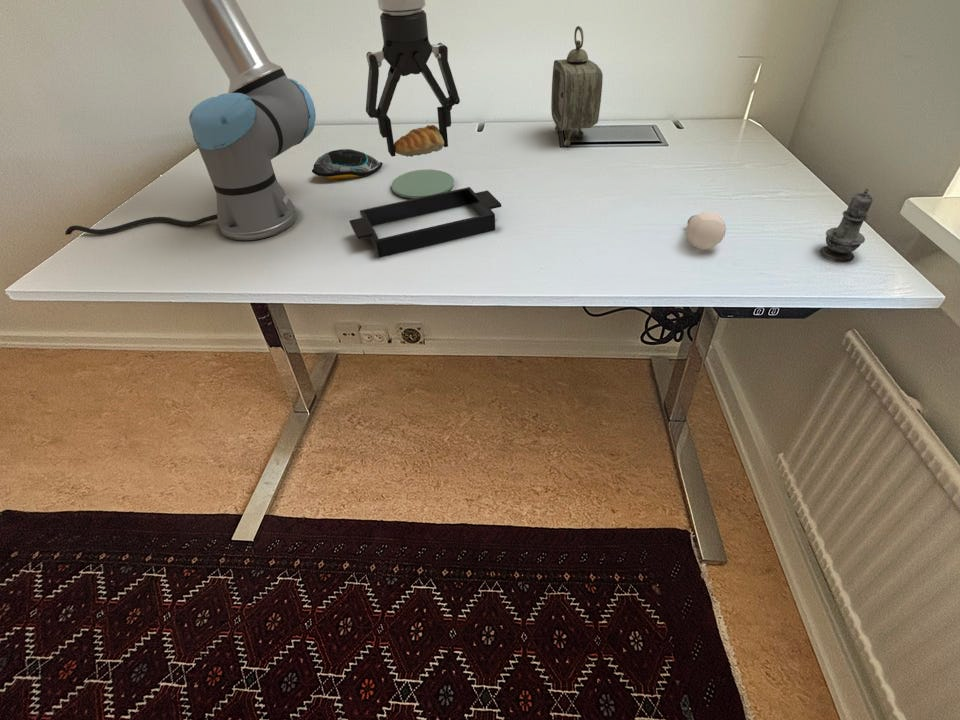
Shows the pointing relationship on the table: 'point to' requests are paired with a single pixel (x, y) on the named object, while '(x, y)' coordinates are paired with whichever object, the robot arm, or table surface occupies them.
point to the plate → (422, 183)
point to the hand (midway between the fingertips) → (418, 149)
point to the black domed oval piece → (345, 164)
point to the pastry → (420, 142)
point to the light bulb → (705, 230)
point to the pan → (430, 235)
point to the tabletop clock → (576, 91)
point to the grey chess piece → (848, 230)
